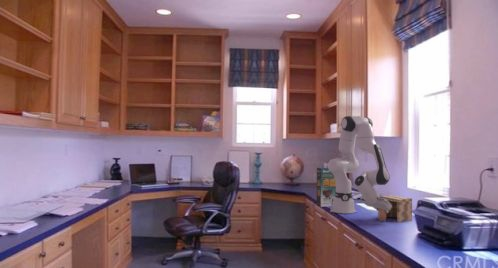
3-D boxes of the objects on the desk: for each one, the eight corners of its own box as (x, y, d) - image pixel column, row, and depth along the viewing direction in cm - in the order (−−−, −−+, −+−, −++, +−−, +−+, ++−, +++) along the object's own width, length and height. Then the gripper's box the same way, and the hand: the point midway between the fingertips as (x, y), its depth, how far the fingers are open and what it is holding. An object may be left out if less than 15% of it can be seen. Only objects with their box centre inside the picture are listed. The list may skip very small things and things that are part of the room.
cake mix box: (339, 204, 309) (340, 167, 310) (344, 205, 303) (344, 167, 304) (316, 205, 301) (316, 167, 302) (320, 206, 295) (321, 168, 296)
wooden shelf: (398, 221, 241) (399, 199, 242) (379, 217, 256) (379, 196, 256) (411, 220, 247) (412, 198, 247) (392, 215, 261) (392, 195, 261)
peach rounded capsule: (378, 219, 249) (378, 205, 249) (386, 219, 247) (386, 205, 248) (378, 220, 244) (378, 206, 244) (386, 221, 243) (386, 207, 243)
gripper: (387, 195, 234) (398, 210, 238) (363, 191, 252) (374, 205, 256) (382, 203, 232) (393, 217, 236) (358, 198, 250) (369, 212, 254)
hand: (383, 211), depth 246 cm, fingers open, 6 cm apart
